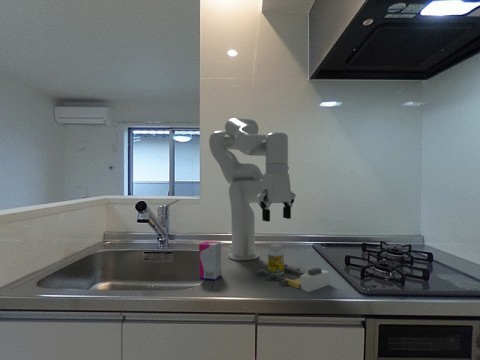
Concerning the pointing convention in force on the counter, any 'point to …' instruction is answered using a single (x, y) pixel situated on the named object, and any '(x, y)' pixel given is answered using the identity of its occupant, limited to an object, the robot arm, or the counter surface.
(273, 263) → the supplement bottle
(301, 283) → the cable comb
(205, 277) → the supplement box
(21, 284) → the counter surface
